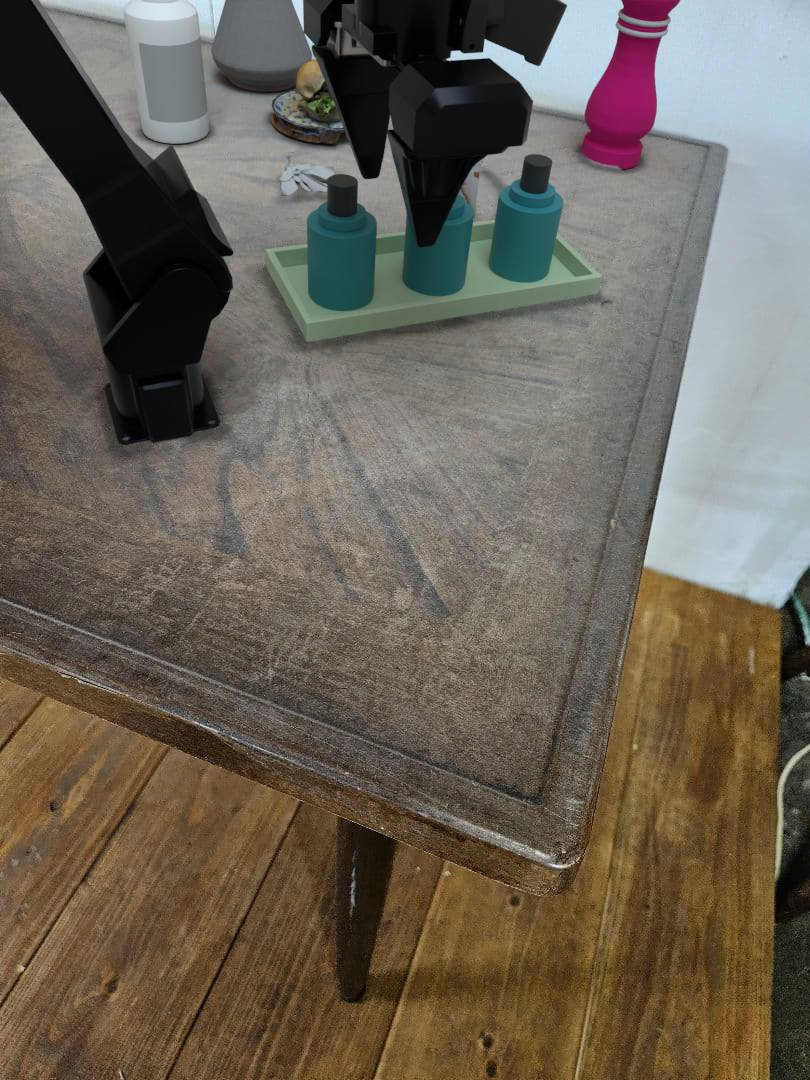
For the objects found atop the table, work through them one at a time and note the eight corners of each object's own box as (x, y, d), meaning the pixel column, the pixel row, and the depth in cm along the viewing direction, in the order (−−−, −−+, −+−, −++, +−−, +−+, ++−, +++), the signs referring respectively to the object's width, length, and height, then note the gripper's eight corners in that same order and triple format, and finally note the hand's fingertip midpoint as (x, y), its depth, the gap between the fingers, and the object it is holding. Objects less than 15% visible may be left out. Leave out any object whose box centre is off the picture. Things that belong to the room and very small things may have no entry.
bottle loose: (392, 268, 69) (399, 158, 62) (449, 260, 70) (461, 152, 64) (416, 300, 66) (426, 188, 59) (475, 291, 67) (491, 181, 61)
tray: (266, 271, 68) (264, 248, 66) (534, 234, 75) (538, 213, 74) (306, 346, 61) (306, 323, 60) (597, 298, 69) (603, 276, 67)
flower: (369, 198, 81) (374, 172, 79) (319, 228, 76) (323, 201, 74) (309, 163, 82) (312, 136, 80) (256, 190, 78) (258, 162, 75)
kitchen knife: (525, 220, 76) (474, 215, 75) (519, 237, 77) (469, 232, 76) (474, 121, 89) (430, 115, 88) (470, 136, 90) (426, 131, 89)
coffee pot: (310, 64, 102) (308, -85, 91) (314, 100, 94) (312, -59, 83) (132, 58, 99) (107, -97, 88) (120, 94, 91) (92, -72, 80)
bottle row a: (478, 255, 71) (493, 149, 65) (531, 248, 73) (551, 143, 66) (505, 286, 68) (524, 177, 61) (559, 278, 70) (584, 170, 63)
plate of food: (346, 155, 84) (347, 75, 79) (249, 127, 87) (244, 49, 82) (399, 119, 92) (404, 44, 86) (308, 94, 95) (307, 20, 89)
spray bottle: (179, 151, 82) (150, -69, 69) (128, 132, 84) (91, -84, 71) (223, 130, 86) (205, -80, 73) (173, 113, 89) (147, -95, 75)
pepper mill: (562, 151, 89) (608, -76, 74) (608, 139, 92) (661, -81, 77) (610, 177, 85) (669, -56, 70) (656, 163, 88) (722, -62, 74)
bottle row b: (300, 281, 66) (296, 168, 60) (360, 272, 68) (364, 162, 61) (320, 315, 63) (319, 200, 57) (383, 305, 65) (389, 192, 58)
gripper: (665, -58, 36) (584, 267, 48) (482, -141, 48) (452, 138, 59) (433, -54, 33) (406, 295, 44) (297, -144, 44) (303, 152, 56)
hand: (396, 209), depth 51 cm, fingers open, 9 cm apart
